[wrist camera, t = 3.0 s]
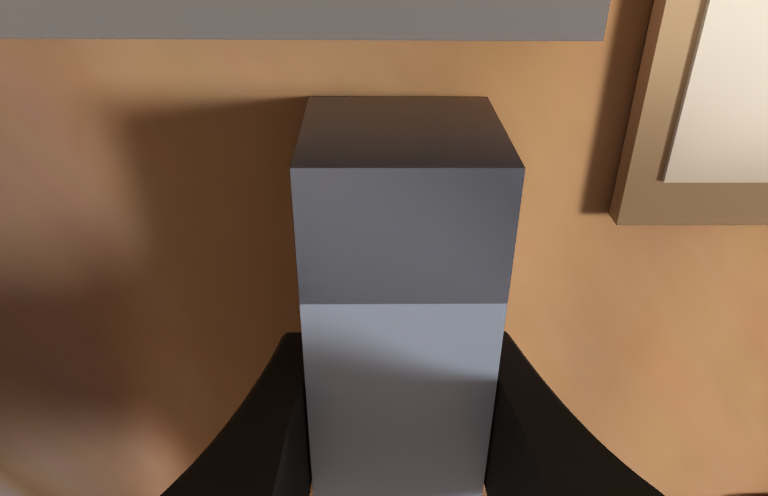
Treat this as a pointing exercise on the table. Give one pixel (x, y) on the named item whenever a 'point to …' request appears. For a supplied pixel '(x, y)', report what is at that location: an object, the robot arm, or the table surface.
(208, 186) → the table surface
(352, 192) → the grey rectangular bar
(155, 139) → the table surface
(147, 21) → the button housing
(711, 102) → the tan flat tray
